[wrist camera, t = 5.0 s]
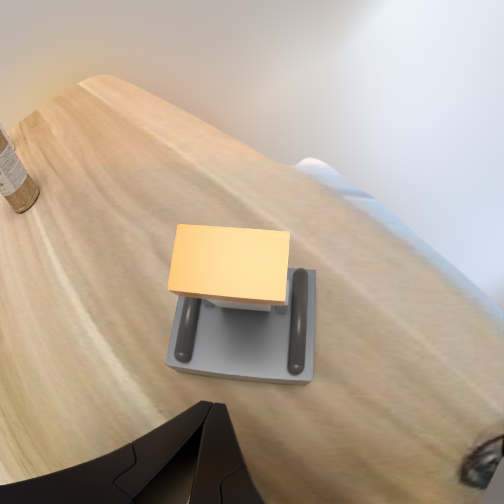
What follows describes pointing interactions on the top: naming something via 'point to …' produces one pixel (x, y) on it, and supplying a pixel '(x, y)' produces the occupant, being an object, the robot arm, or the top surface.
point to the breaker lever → (230, 266)
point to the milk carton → (6, 136)
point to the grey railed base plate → (248, 337)
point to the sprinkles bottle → (15, 179)
